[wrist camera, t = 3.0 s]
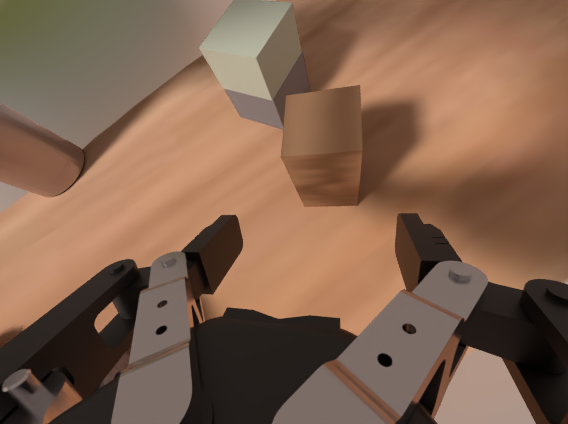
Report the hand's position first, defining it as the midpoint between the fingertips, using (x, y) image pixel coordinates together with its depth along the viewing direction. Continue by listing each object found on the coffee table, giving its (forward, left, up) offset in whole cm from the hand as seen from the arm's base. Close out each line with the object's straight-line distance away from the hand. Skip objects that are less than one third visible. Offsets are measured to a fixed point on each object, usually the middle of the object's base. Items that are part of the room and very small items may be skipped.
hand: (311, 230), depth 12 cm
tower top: (-16, +16, -7) cm, 23 cm away
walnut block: (-4, +8, -12) cm, 15 cm away
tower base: (-16, +16, -12) cm, 26 cm away
